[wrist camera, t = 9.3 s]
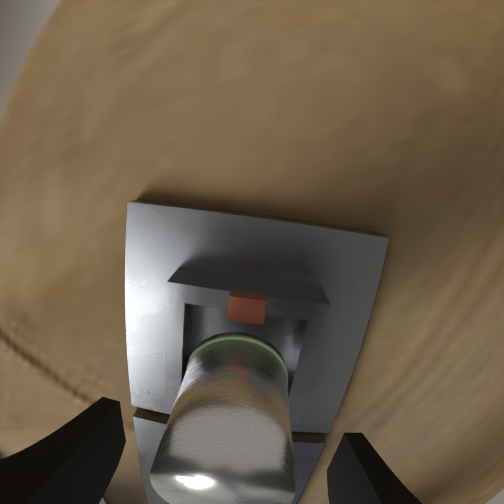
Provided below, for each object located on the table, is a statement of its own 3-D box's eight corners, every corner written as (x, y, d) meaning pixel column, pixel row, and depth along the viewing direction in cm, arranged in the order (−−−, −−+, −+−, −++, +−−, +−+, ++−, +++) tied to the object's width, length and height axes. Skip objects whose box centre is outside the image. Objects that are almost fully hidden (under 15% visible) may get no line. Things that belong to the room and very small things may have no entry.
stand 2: (323, 432, 18) (330, 475, 15) (285, 514, 21) (286, 547, 18) (137, 406, 18) (119, 445, 15) (150, 495, 21) (140, 526, 18)
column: (296, 339, 12) (314, 457, 6) (278, 414, 13) (281, 526, 7) (190, 324, 12) (141, 433, 6) (186, 402, 13) (153, 509, 7)
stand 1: (382, 233, 15) (413, 253, 11) (327, 422, 18) (335, 465, 14) (136, 199, 15) (100, 209, 11) (137, 395, 18) (116, 434, 14)
